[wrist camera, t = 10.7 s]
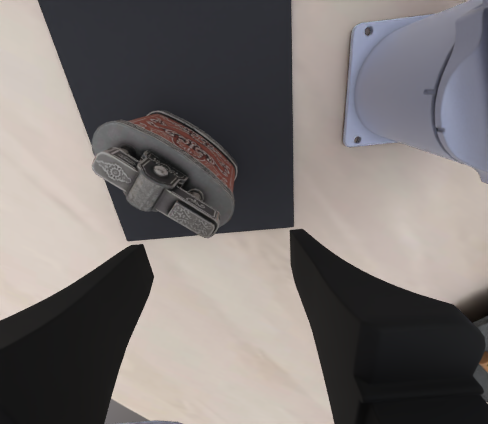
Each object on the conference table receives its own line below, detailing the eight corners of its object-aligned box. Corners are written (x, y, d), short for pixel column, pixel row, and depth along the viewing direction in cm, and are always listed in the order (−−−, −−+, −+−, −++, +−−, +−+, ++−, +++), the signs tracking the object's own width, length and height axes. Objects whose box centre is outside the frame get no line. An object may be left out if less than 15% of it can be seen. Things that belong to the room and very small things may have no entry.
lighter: (138, 136, 19) (45, 177, 10) (158, 98, 18) (72, 106, 9) (223, 193, 21) (207, 267, 12) (246, 162, 20) (247, 220, 11)
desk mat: (289, -71, 14) (290, -75, 14) (293, 225, 23) (293, 227, 23) (29, -34, 15) (23, -37, 15) (128, 239, 24) (127, 241, 24)
